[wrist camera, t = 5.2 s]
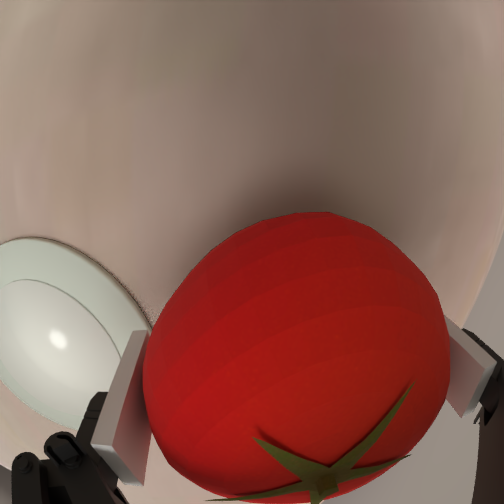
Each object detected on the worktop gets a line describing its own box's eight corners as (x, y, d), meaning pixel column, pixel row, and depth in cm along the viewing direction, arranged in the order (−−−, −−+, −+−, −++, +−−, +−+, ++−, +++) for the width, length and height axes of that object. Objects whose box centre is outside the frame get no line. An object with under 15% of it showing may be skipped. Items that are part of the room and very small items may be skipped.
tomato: (135, 348, 16) (88, 510, 6) (241, 151, 13) (304, 145, 3) (293, 407, 19) (332, 540, 9) (408, 263, 16) (540, 364, 6)
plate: (-46, 254, 17) (-54, 259, 16) (127, 216, 18) (121, 220, 17) (28, 417, 23) (24, 424, 22) (187, 427, 24) (186, 437, 23)
